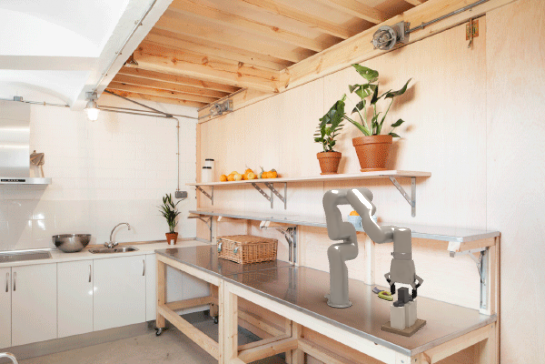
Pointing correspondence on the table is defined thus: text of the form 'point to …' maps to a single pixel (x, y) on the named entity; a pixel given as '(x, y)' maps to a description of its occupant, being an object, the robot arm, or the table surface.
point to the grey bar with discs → (403, 297)
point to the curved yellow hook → (383, 294)
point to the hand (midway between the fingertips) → (403, 296)
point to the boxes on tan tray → (404, 319)
